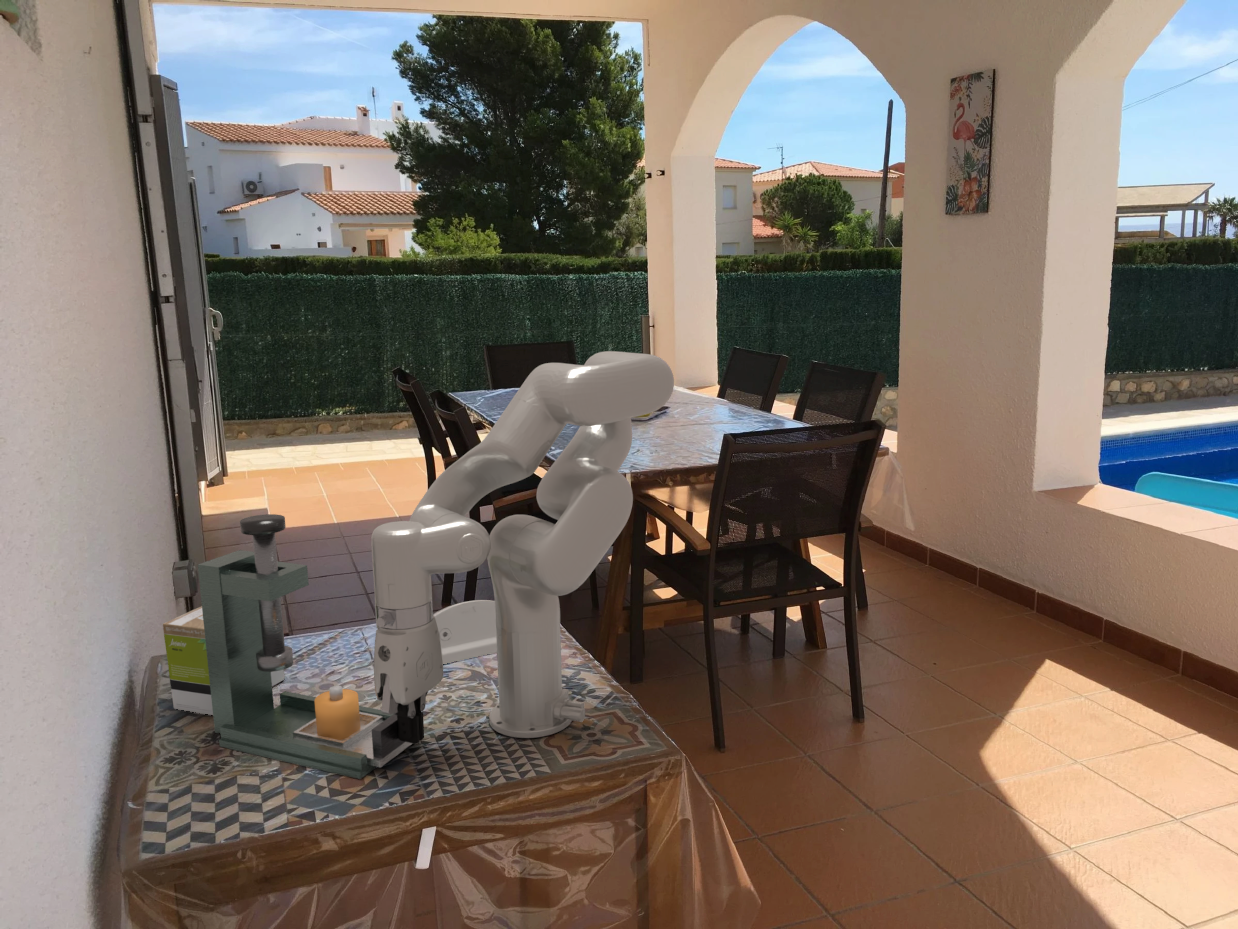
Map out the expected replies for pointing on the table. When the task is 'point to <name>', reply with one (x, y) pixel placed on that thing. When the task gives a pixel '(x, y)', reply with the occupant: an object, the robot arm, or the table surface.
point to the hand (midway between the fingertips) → (411, 739)
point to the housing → (337, 713)
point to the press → (237, 679)
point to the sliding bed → (363, 738)
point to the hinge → (467, 630)
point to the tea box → (192, 663)
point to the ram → (266, 563)
